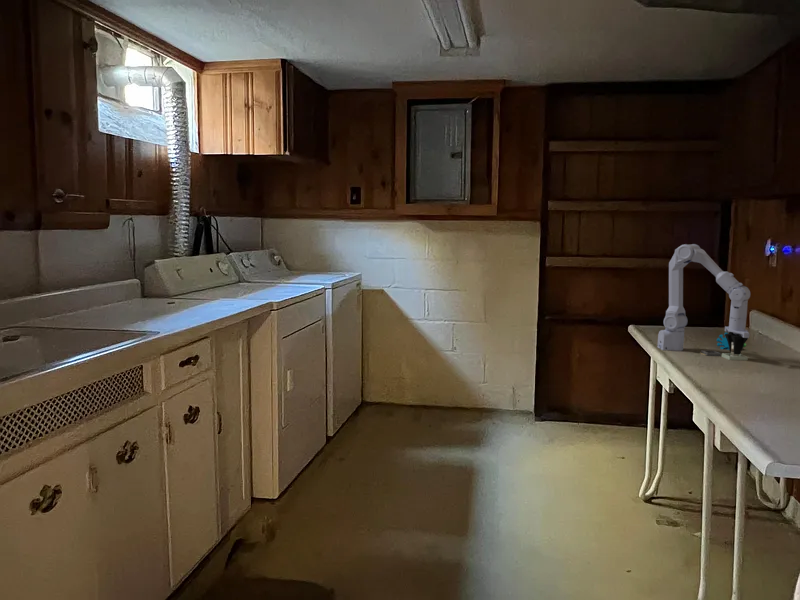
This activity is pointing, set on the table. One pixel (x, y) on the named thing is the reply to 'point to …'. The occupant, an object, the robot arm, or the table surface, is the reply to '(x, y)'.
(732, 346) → the cylinder
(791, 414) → the table surface
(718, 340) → the gear
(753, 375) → the table surface
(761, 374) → the table surface
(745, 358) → the parts tray
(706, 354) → the grey square holder
